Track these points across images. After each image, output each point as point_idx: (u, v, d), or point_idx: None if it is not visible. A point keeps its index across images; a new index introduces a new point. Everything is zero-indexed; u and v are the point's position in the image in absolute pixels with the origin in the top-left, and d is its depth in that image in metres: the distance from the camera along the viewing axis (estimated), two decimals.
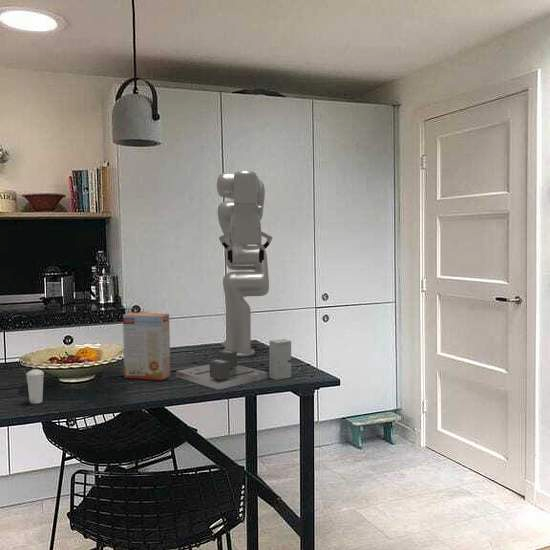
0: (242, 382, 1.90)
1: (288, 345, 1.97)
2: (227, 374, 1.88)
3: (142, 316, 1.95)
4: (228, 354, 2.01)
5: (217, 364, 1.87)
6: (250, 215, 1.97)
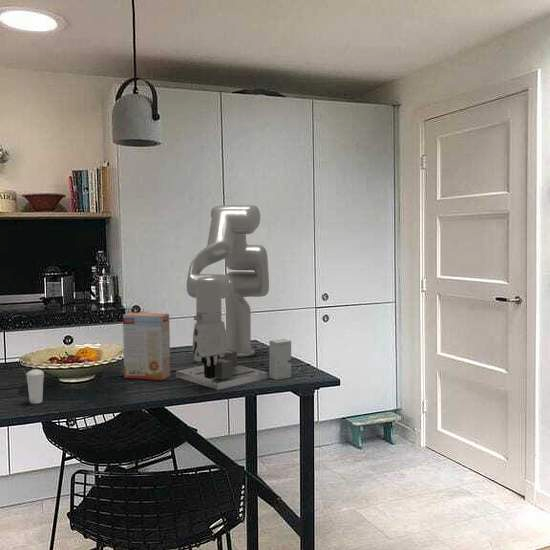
0: (242, 382, 1.90)
1: (288, 345, 1.97)
2: (229, 374, 1.89)
3: (142, 316, 1.95)
4: (228, 354, 2.01)
5: (219, 364, 1.87)
6: None
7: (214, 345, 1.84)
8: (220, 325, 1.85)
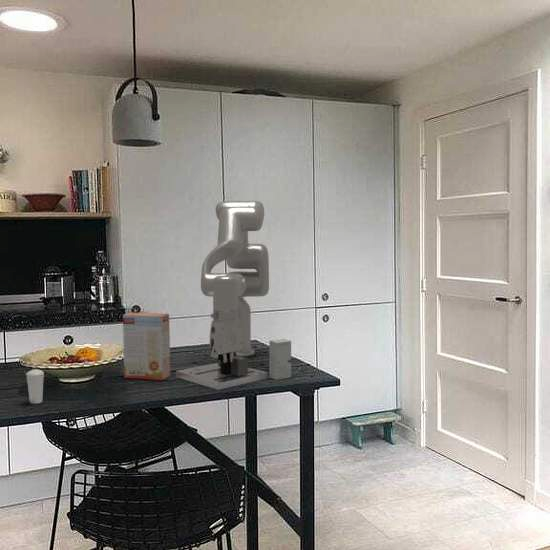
0: (242, 382, 1.90)
1: (288, 345, 1.97)
2: (245, 370, 1.93)
3: (142, 316, 1.95)
4: None
5: (235, 360, 1.91)
6: None
7: (230, 342, 1.88)
8: (236, 322, 1.89)
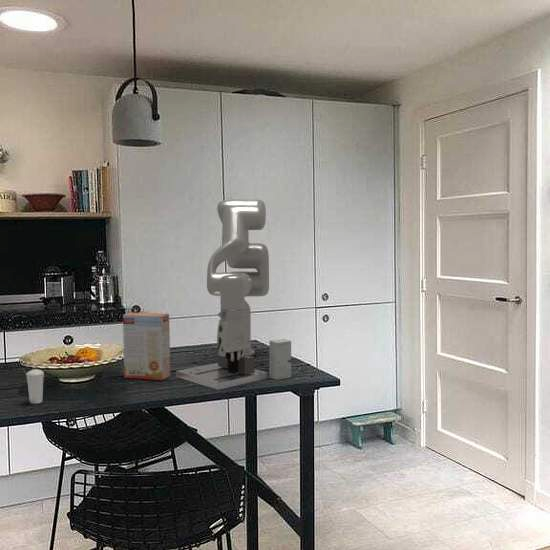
0: (242, 382, 1.90)
1: (288, 345, 1.97)
2: (252, 369, 1.95)
3: (142, 316, 1.95)
4: None
5: (242, 359, 1.93)
6: None
7: (238, 341, 1.90)
8: (243, 321, 1.91)
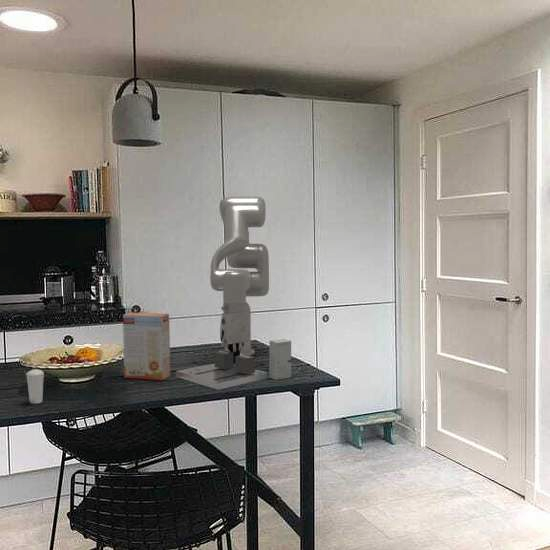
0: (242, 382, 1.90)
1: (288, 345, 1.97)
2: (252, 369, 1.95)
3: (142, 316, 1.95)
4: (224, 355, 2.00)
5: (243, 359, 1.93)
6: None
7: (239, 333, 2.03)
8: (244, 314, 2.05)
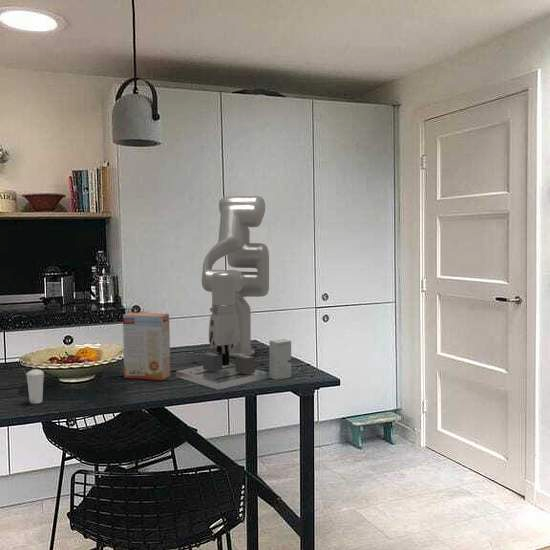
0: (242, 382, 1.90)
1: (288, 345, 1.97)
2: (252, 369, 1.95)
3: (142, 316, 1.95)
4: (213, 357, 1.97)
5: (243, 359, 1.93)
6: None
7: (228, 335, 2.00)
8: (233, 316, 2.01)
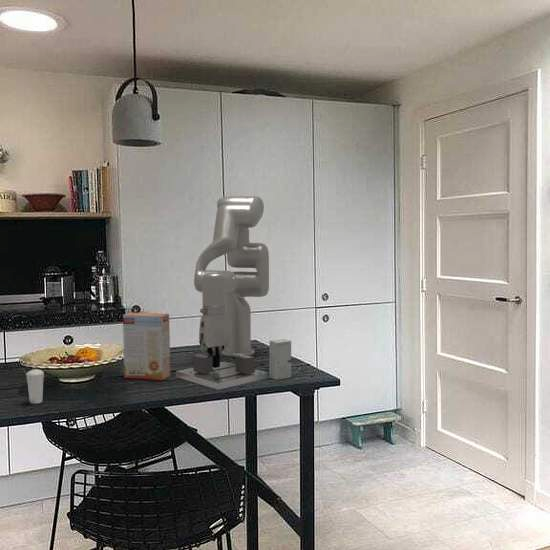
0: (242, 382, 1.90)
1: (288, 345, 1.97)
2: (252, 369, 1.95)
3: (142, 316, 1.95)
4: (203, 359, 1.94)
5: (243, 359, 1.93)
6: None
7: (219, 336, 1.97)
8: (224, 317, 1.99)
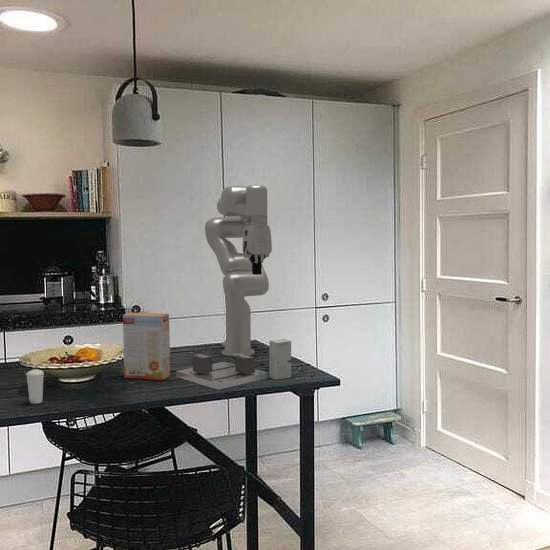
0: (242, 382, 1.90)
1: (288, 345, 1.97)
2: (252, 369, 1.95)
3: (142, 316, 1.95)
4: (203, 359, 1.94)
5: (243, 359, 1.93)
6: None
7: (261, 245, 2.10)
8: (266, 227, 2.12)
